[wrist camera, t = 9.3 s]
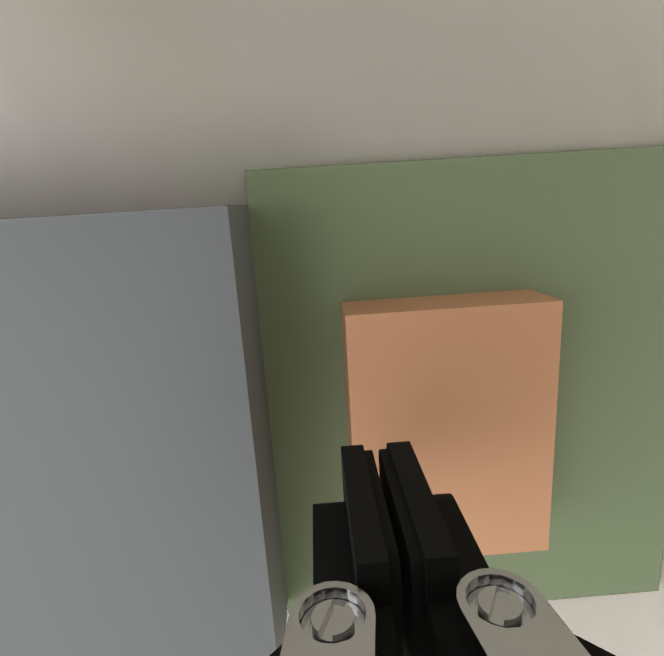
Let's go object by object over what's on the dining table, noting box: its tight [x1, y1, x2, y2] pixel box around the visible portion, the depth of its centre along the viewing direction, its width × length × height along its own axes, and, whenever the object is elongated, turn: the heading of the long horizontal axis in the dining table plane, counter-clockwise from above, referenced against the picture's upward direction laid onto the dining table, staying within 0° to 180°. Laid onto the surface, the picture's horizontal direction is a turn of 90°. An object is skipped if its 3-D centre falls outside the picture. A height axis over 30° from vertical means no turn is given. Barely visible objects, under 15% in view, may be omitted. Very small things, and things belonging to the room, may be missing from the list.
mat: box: [244, 145, 664, 614], centre depth 16 cm, size 16×14×1 cm
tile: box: [341, 289, 563, 555], centre depth 15 cm, size 8×6×2 cm
